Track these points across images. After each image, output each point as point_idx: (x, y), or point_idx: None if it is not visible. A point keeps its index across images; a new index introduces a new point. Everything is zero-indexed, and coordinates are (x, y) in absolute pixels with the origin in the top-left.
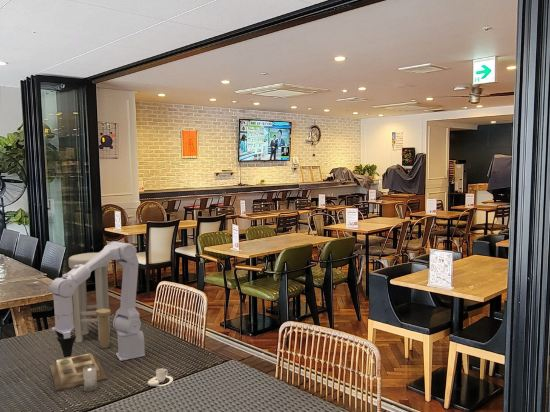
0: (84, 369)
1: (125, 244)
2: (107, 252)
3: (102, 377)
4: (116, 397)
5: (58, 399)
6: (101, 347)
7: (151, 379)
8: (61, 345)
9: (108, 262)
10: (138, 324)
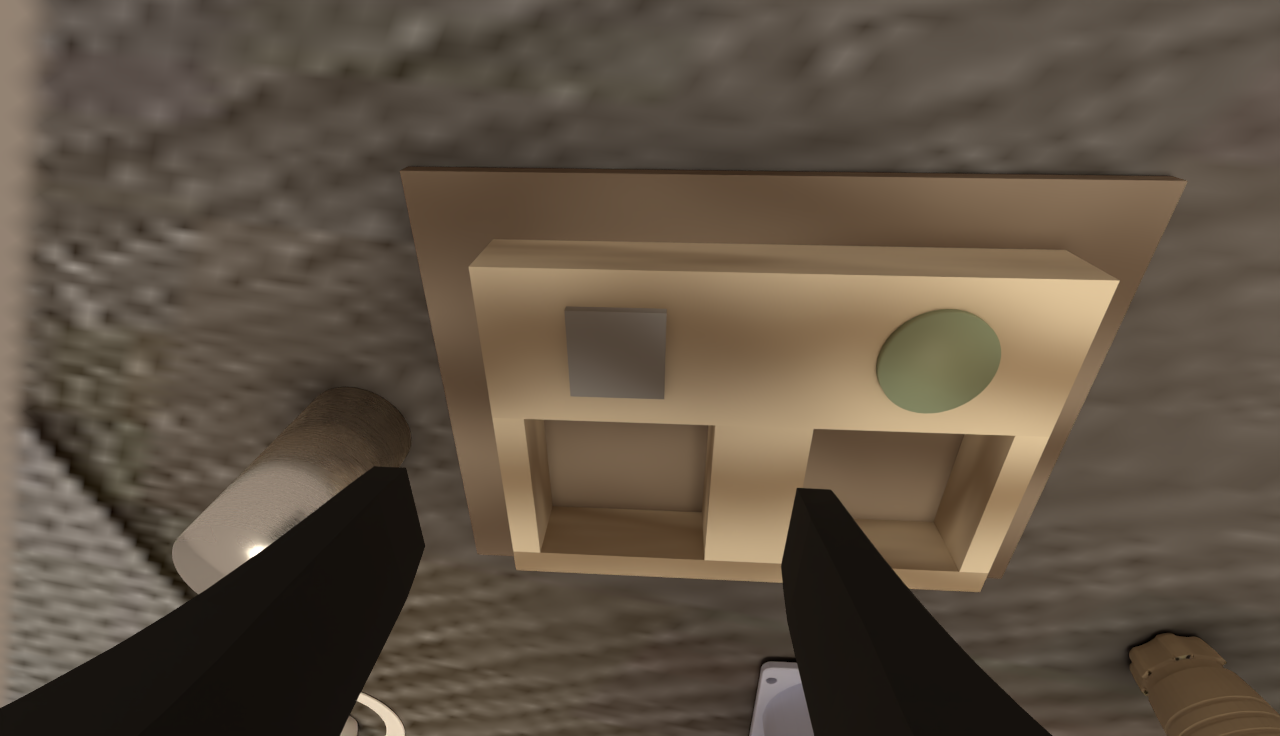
0: (216, 535)
1: None
2: None
3: (502, 533)
4: (164, 528)
5: (209, 165)
6: (1170, 636)
7: (369, 701)
8: (64, 685)
9: None
10: None
